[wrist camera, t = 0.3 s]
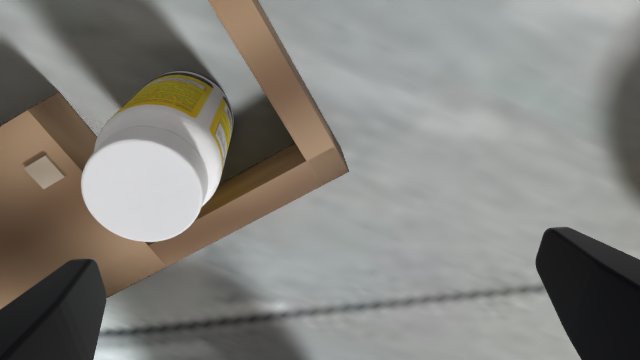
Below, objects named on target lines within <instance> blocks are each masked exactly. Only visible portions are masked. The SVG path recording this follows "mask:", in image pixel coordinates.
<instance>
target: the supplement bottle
mask: <svg viewBox="0 0 640 360" xmlns="http://www.w3.org/2000/svg"><path fill="white" fill-rule="evenodd" d="M233 124H234V118H233V112H232V108H231V105H230V103H229V101H228V99H227V97H226V96H225V94H224V93H223V92H222V90H221V89H220V88H219V87H218V86H217V85H215V84H214V83H213V82H212V81H210V80H209V79H207V78H205V77H203V76H201V75H199V74H196V73H192V72H187V71H174V72H168V73H165V74H162V75H160V76H158V77H156V78H154V79H153V80H152V81H150V82H149V83H148V84H146V85H145V86H144V87H143V88H142V89H141V90H140V91H139V92H138V93H137V94H136V95H135V96H134V97H133V98H132V99H131V100H130V101H129V102H128V103H127V104H125V105H124V106H123V107H122V108H121V109H120V110H119V111H118V112H117V113H116V114H115V115H114V116H113V117H112V118H111V119H110V120H109V121H107V123H106V124H105V125H104V127H103V128H102V130H101V131H100V133H99V135H98V137H97V140H96V143H95V148H94V153H93V154H92V155H91V157H90V158H89V159H88V161H87V163H86V165H85V167H84V170H83V172H82V177H81V191H82V196H83V199H84V202H85V204H86V206H87V208H88V210H89V211H90V213H91V214H92V215H93V217H94V218H95V219H96V220H97V221H98V222H99V223H100V224H101V225H102V226H104V227H105V228H106V229H108V230H109V231H111V232H113V233H115V234H117V235H119V236H121V237H123V238H127V239H130V240H134V241H142V242H156V241H162V240H167V239H170V238H172V237H175V236H177V235H179V234H180V233H182V232H183V231H185V230H186V229H187V228H188V227H189V226H191V224H192V223H193V222H194V221H195V219H196V218H197V216H198V214H199V212H200V210H201V207H202V206H203V205H204V204H206V202H207V201H208V200H209V199H210V198H211V197H212V196H213V194H214V192H215V191H216V189H217V187H218V185H219V182H220V179H221V175H222V171H223V167H224V163H225V159H226V155H227V151H228V147H229V143H230V139H231V135H232V131H233Z"/></svg>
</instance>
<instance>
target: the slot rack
mask: <svg viewBox="0 0 640 360" xmlns="http://www.w3.org/2000/svg"><path fill="white" fill-rule="evenodd" d="M208 1H209V3H210V4H211V6H212V7H213V9H214V11H215V12H216V14H217V16H218V17H219V19H220V21H221V22H222V24H223V25H224V27H225V29H226V30H227V32H228V34H229V35H230V37H231V39H232V40H233V42H234V43H235V45H236V47H237V48H238V50H239V52H240V53H241V55H242V57H243V58H244V60H245V61H246V63H247V65H248V66H249V68H250V70H251V71H252V73H253V74H254V76H255V78H256V79H257V81H258V83H259V84H260V86H261V88H262V89H263V91H264V92H265V94H266V96H267V97H268V99H269V101H270V102H271V104H272V106H273V107H274V109H275V110H276V112H277V114H278V115H279V117H280V119H281V120H282V122H283V124H284V125H285V127H286V128H287V130H288V132H289V133H290V135H291V137H292V138H293V140H294V142H295V144H293V145H291V146H289V147H287V148H285V149H284V150H282V151H280V152H278V153H276V154H274V155H273V156H271V157H269V158H267V159H265V160H263V161H262V162H260V163H258V164H256V165H254V166H252V167H250V168H249V169H247V170H245V171H243V172H241V173H239V174H238V175H236V176H234V177H232V178H230V179H228V180H227V181H225V182H223V183H221V184H219V185H218V187H217V189H216V191H215V192H214V194H213V196H212V197H211V198H210V199H209V200H208V201H207V202H206V204H204V205H203V206H202V207H201V210H200V212H199V214H198V216H197V218H196V219H195V221H194V222H193V223H192V224H191V226H189V227H188V228H187V229H186V230H185V231H183V232H182V233H180V234H179V235H177V236H175V237H172V238H170V239H167V240H162V241H156V242H142V241H134V240H130V239H127V238H123V237H121V236H119V235H117V234H115V233H113V232H111V231H109V230H108V229H106V228H105V227H104V226H102V225H101V224H100V223H99V222H98V221H97V220H96V219H95V218H94V217H93V215H92V214H91V213H90V211H89V210H88V208H87V206H86V204H85V202H84V199H83V196H82V191H81V177H82V172H83V170H84V167H85V165H86V163H87V161H88V159H89V158H90V157H91V155H92V154H93V153H94V148H95V143H96V140H97V137H96V136H95V134H94V133H93V132H92V131H91V130H90V128H89V127H88V126H87V125H86V124H85V122H84V121H83V120H82V119H81V118H80V116H79V115H78V114H77V113H76V112H75V110H74V109H73V108H72V107H71V106H70V104H69V103H68V102H67V101H66V100H65V99H64V97H63V96H62V95H61V94H60V93H59V92H58V93H56V94H55V95H53V96H51V97H49V98H48V99H46V100H44V101H42V102H41V103H39V104H37V105H35V106H34V107H32V108H30V109H28V110H27V111H25V112H23V113H22V114H20V115H19V116H17V117H15V118H14V119H12V120H10V121H9V122H7V123H5V124H4V125H2V126H1V127H0V309H2V308H3V307H4V306H6V305H7V304H9V303H10V302H11V301H13V300H14V299H16V298H17V297H18V296H20V295H21V294H23V293H24V292H25V291H27V290H28V289H30V288H31V287H32V286H34V285H35V284H37V283H38V282H39V281H41V280H42V279H44V278H45V277H46V276H48V275H49V274H51V273H52V272H54V271H55V270H56V269H58V268H59V267H61V266H62V265H63V264H65V263H66V262H68V261H69V260H72V259H84V258H92V259H94V260H95V261H96V262H97V265H98V268H99V271H100V274H101V277H102V280H103V283H104V286H105V289H106V298H108V297H110V296H112V295H114V294H116V293H118V292H119V291H121V290H123V289H125V288H127V287H129V286H131V285H133V284H135V283H137V282H139V281H141V280H142V279H144V278H146V277H148V276H150V275H152V274H154V273H156V272H158V271H160V270H162V269H164V268H165V267H167V266H169V265H171V264H173V263H175V262H177V261H179V260H181V259H183V258H185V257H186V256H188V255H190V254H192V253H194V252H196V251H198V250H200V249H202V248H204V247H206V246H208V245H209V244H211V243H213V242H215V241H217V240H219V239H221V238H223V237H225V236H227V235H229V234H230V233H232V232H234V231H236V230H238V229H240V228H242V227H244V226H246V225H248V224H250V223H252V222H253V221H255V220H257V219H259V218H261V217H263V216H265V215H267V214H269V213H271V212H273V211H275V210H276V209H278V208H280V207H282V206H284V205H286V204H288V203H290V202H292V201H294V200H296V199H297V198H299V197H301V196H303V195H305V194H307V193H309V192H311V191H313V190H315V189H317V188H319V187H320V186H322V185H324V184H326V183H328V182H330V181H332V180H334V179H336V178H338V177H340V176H341V175H343V174H345V173H347V172H349V170H348V167H347V164H346V161H345V158H344V155H343V152H342V150H341V147H340V146H339V144H338V142H337V140H336V138H335V137H334V135H333V133H332V131H331V130H330V128H329V126H328V124H327V122H326V121H325V119H324V117H323V115H322V114H321V112H320V110H319V108H318V106H317V105H316V103H315V101H314V99H313V97H312V96H311V94H310V92H309V90H308V89H307V87H306V85H305V83H304V81H303V80H302V78H301V76H300V74H299V73H298V71H297V69H296V67H295V65H294V64H293V62H292V60H291V58H290V57H289V55H288V53H287V51H286V49H285V48H284V46H283V44H282V42H281V41H280V39H279V37H278V35H277V33H276V32H275V30H274V28H273V26H272V25H271V23H270V21H269V19H268V17H267V16H266V14H265V12H264V10H263V9H262V7H261V5H260V3H259V1H258V0H208Z"/></svg>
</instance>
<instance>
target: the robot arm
mask: <svg viewBox="0 0 640 360" xmlns="http://www.w3.org/2000/svg"><path fill="white" fill-rule="evenodd" d="M536 268H537V271H538V274H539V276H540V278H541V280H542V282H543V284H544V286H545V289H546V291H547V293H548V295H549V297H550V299H551V302H552V304H553V306H554V308H555V310H556V312H557V315H558V317H559V319H560V321H561V323H562V325H563V327H564V329H565V331H566V333H567V335H568V337H569V339H570V341H571V342H572V344H573V346H574V348H575V349H576V351H577V353H578V354H579V356H580V358H581V359H582V360H640V260H639V259H637V258H635V257H633V256H630V255H628V254H626V253H624V252H622V251H619V250H617V249H615V248H613V247H611V246H608V245H606V244H604V243H602V242H600V241H597V240H595V239H593V238H591V237H589V236H587V235H584V234H582V233H580V232H578V231H576V230H573V229H571V228H568V227H556V228H549V229H547V230H546V231H545V232H544V234H543V237H542V241H541V244H540V247H539V250H538V253H537V256H536ZM105 304H106V289H105V286H104V283H103V280H102V277H101V274H100V271H99V268H98V265H97V262H96V261H95V260H94V259H92V258H84V259H72V260H69V261H68V262H66V263H65V264H63V265H62V266H61V267H59V268H58V269H56V270H55V271H54V272H52V273H51V274H49V275H48V276H46V277H45V278H44V279H42V280H41V281H39V282H38V283H37V284H35V285H34V286H32V287H31V288H30V289H28V290H27V291H25V292H24V293H23V294H21V295H20V296H18V297H17V298H16V299H14V300H13V301H11V302H10V303H9V304H7V305H6V306H4V307H3V308H2V309H0V360H93V359H94V354H95V350H96V345H97V341H98V336H99V332H100V327H101V323H102V318H103V314H104V309H105Z"/></svg>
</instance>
